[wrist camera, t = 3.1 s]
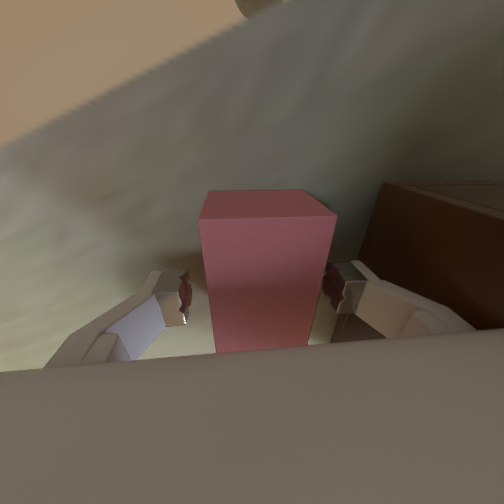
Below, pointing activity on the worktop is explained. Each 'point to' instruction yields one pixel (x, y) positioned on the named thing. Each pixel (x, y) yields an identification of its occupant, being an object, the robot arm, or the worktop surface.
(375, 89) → the worktop surface
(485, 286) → the chest
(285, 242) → the pink rectangular block
